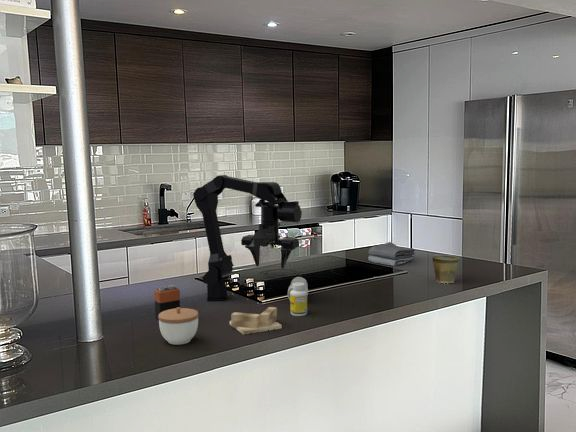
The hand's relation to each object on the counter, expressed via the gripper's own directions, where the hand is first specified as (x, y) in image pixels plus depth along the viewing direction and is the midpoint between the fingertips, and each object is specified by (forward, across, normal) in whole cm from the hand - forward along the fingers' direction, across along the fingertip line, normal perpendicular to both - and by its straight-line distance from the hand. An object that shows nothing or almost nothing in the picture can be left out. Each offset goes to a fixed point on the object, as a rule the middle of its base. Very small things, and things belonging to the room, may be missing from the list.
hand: (269, 267), depth 184 cm
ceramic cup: (+13, +49, +57) cm, 76 cm away
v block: (+13, +5, -21) cm, 25 cm away
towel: (+13, +20, +87) cm, 90 cm away
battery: (+14, -24, -24) cm, 36 cm away
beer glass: (+10, +3, +19) cm, 22 cm away
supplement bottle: (+13, +12, -5) cm, 19 cm away
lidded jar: (+13, -8, -40) cm, 43 cm away
